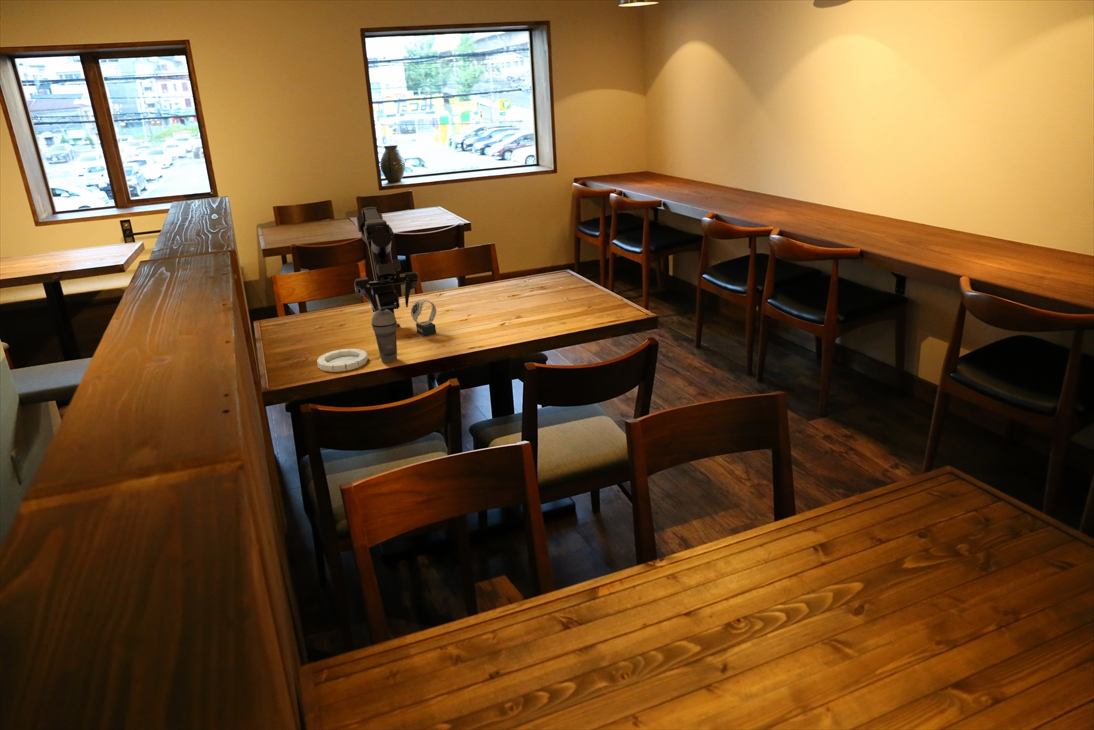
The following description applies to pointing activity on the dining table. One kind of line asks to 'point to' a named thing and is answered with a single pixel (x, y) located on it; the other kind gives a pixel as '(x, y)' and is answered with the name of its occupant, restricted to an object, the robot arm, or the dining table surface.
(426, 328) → the watch
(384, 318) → the beverage cup
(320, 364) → the ring tray
